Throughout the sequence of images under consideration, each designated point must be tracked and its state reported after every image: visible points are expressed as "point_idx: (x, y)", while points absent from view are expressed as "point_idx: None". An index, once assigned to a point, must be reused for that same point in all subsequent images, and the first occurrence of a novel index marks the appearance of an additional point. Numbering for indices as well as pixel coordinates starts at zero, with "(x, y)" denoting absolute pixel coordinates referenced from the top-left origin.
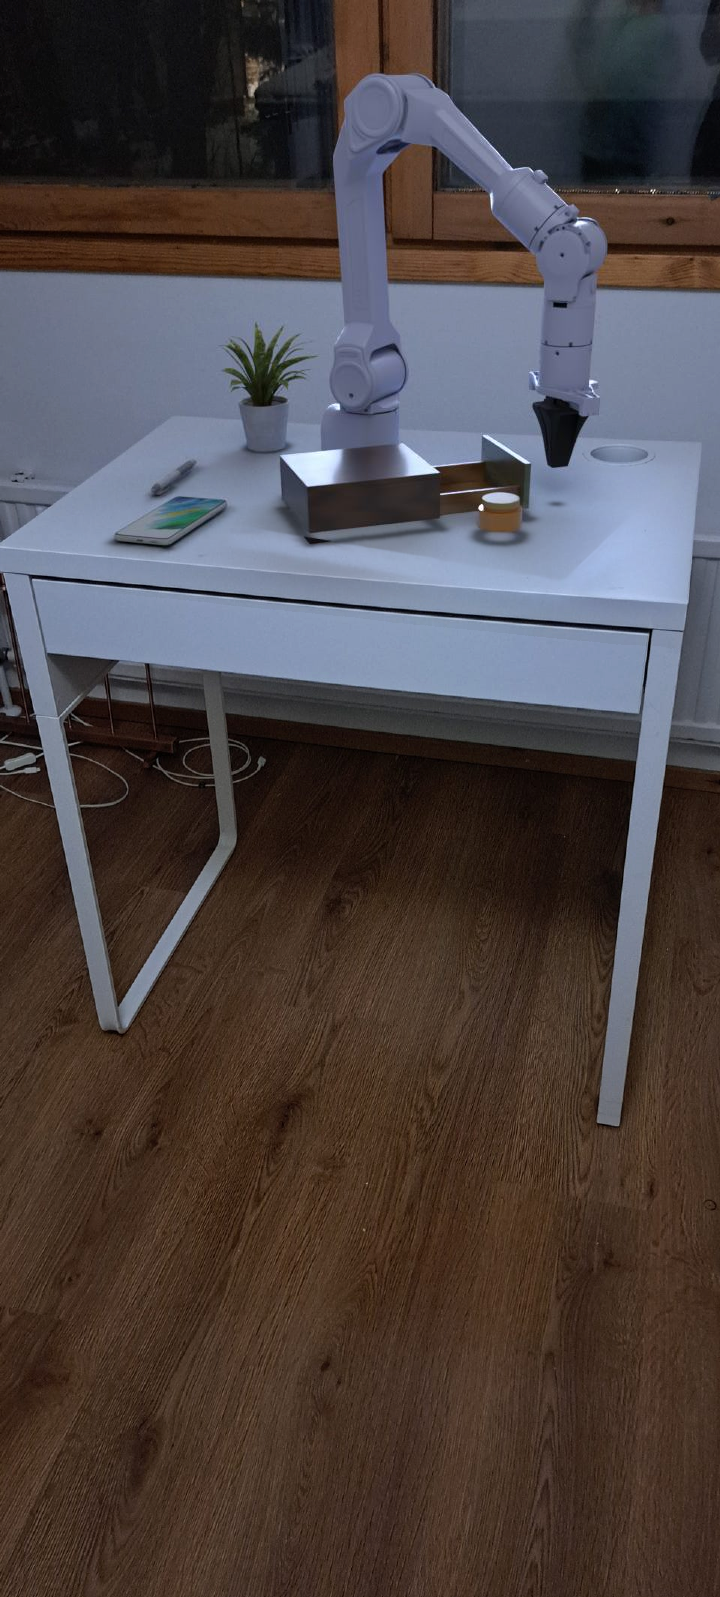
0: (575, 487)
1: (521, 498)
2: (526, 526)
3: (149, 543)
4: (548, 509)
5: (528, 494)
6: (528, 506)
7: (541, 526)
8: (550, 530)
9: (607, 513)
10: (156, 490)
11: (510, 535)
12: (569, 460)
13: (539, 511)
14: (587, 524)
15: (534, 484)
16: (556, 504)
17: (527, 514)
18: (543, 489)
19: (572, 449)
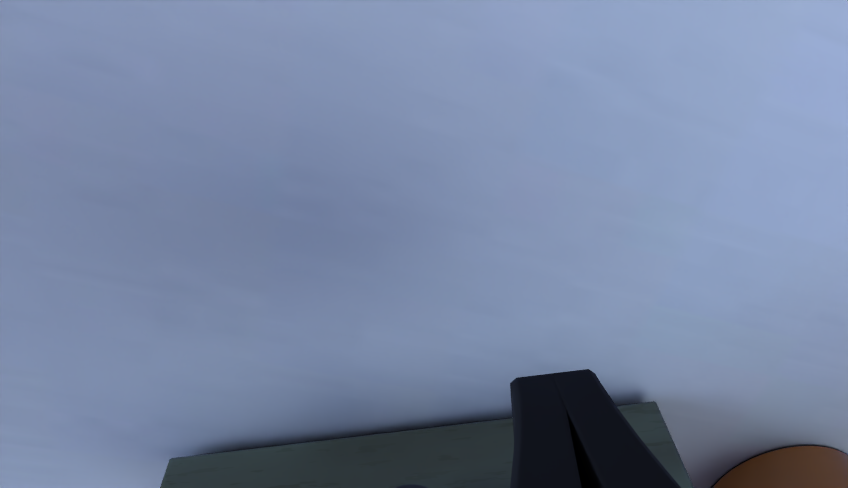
0: (189, 60)
1: None
2: (729, 410)
3: None
4: (555, 295)
5: (691, 485)
6: (669, 435)
7: (758, 366)
8: (822, 348)
9: (743, 35)
10: None
11: None
12: (604, 393)
13: (569, 333)
14: (844, 193)
15: (122, 261)
16: (492, 245)
17: None
18: (220, 241)
19: (652, 455)
